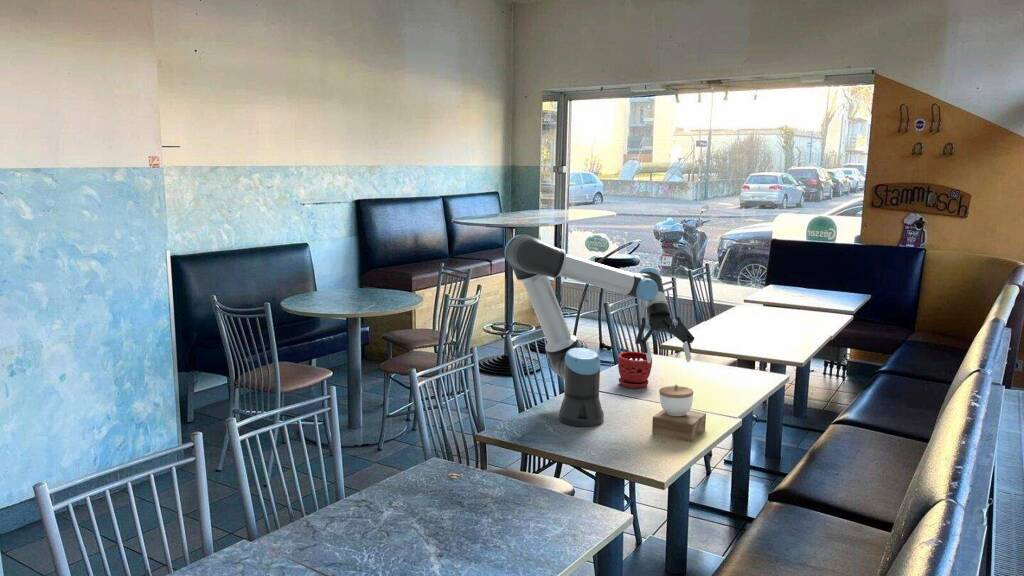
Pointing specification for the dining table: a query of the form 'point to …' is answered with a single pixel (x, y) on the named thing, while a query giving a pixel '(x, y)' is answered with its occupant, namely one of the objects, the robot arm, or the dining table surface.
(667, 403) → the lidded jar
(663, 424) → the walnut block
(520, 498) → the dining table surface
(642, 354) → the plant pot
